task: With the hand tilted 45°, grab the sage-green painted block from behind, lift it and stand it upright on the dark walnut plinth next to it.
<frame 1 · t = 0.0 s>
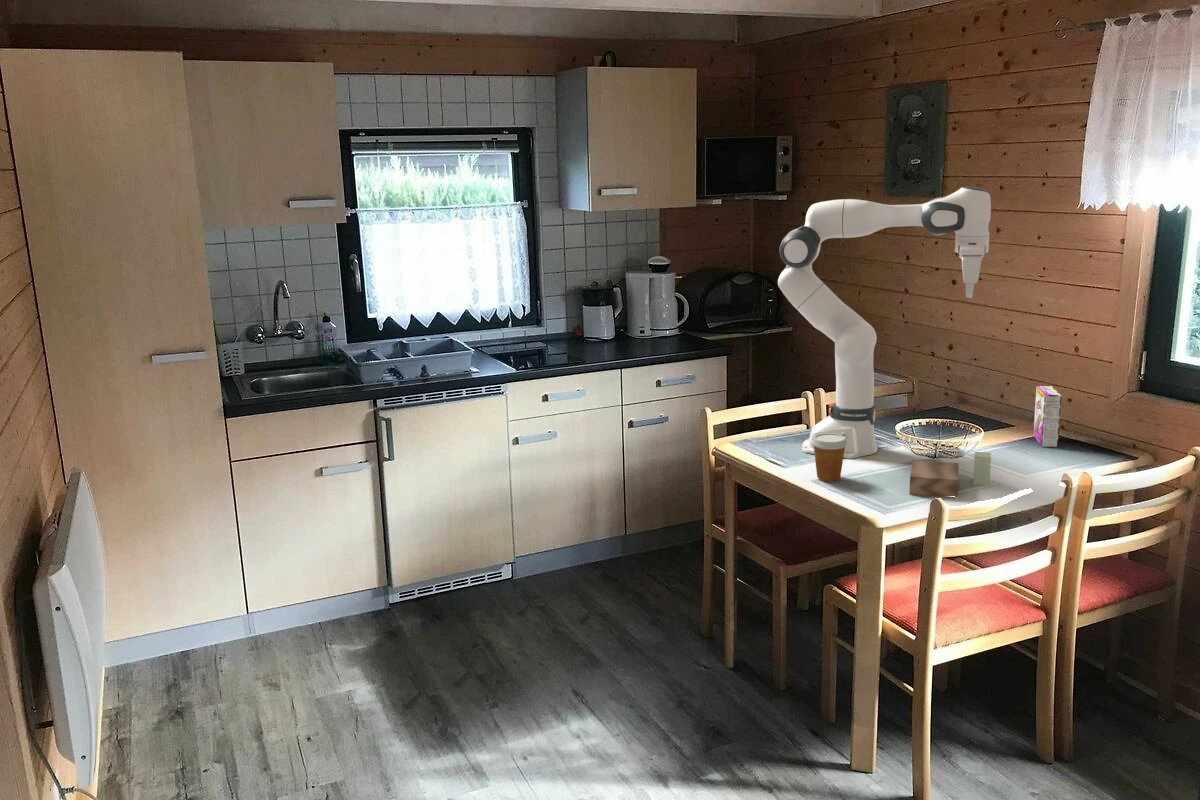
hand: (969, 295, 269), 48 cm above the table, tool pointing down, fingers open, 8 cm apart
candy bar box: (1044, 442, 291), on the table
disposable coffee cup: (828, 479, 267), on the table
sage block: (981, 482, 259), on the table
walnut plinth: (933, 487, 257), on the table
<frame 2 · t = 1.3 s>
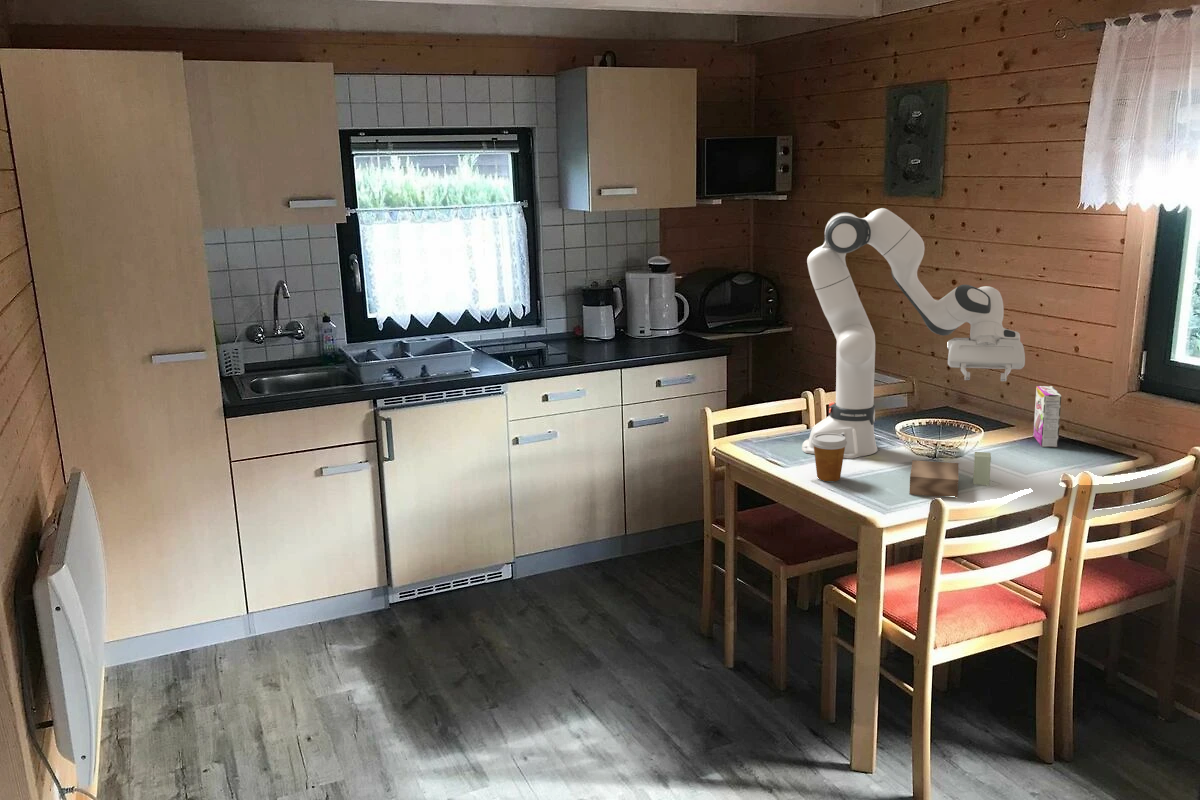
hand: (985, 379, 265), 26 cm above the table, tool tilted 45°, fingers open, 8 cm apart
nothing on the table moved.
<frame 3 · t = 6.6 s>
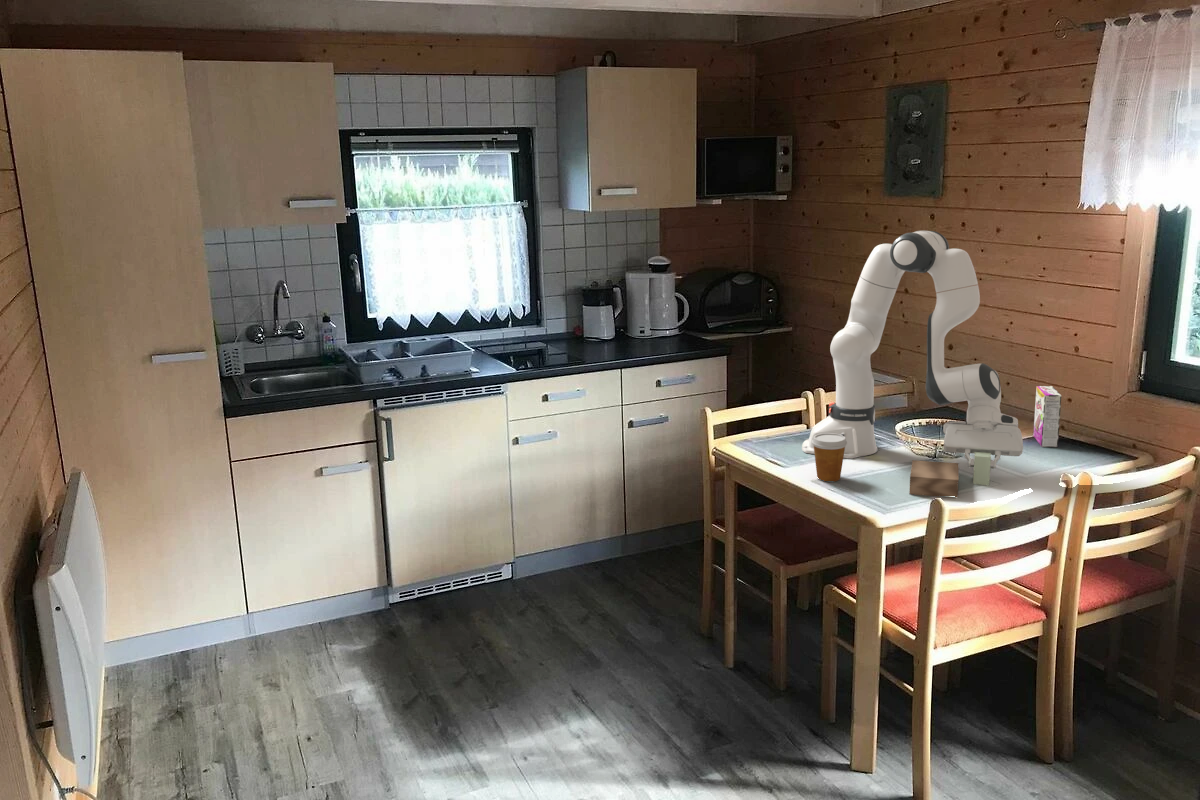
hand: (982, 466, 257), 5 cm above the table, tool tilted 45°, fingers closed on sage block, 4 cm apart
sage block: (981, 482, 259), on the table, touching gripper
everything else where it was.
when the fingers open (11 cm above the table, at t = 11.6 s): sage block drops 1 cm, resting on walnut plinth.
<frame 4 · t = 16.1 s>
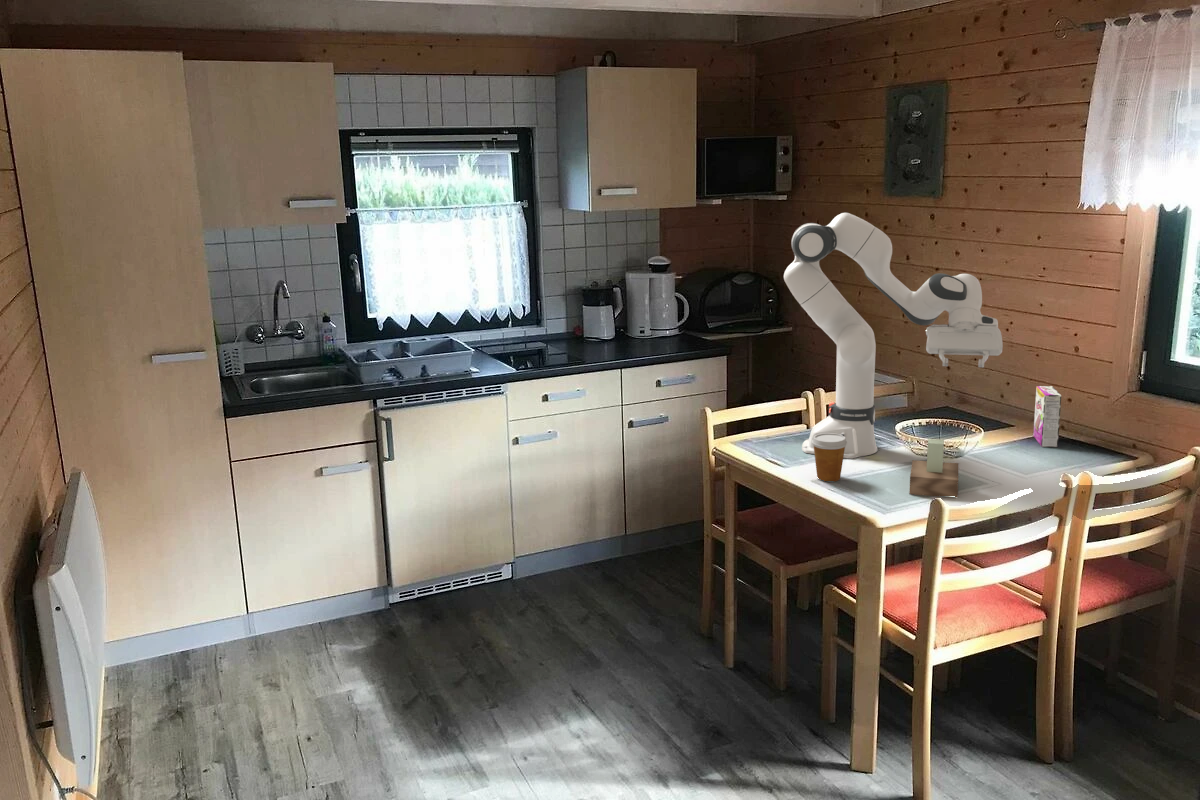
hand: (963, 365, 266), 29 cm above the table, tool tilted 45°, fingers open, 8 cm apart
sage block: (934, 469, 256), point 5 cm above the table, touching walnut plinth
everything else where it was.
at the end: sage block inside the target area on the walnut plinth (0.1 cm from its centre), point 5.0 cm above the walnut plinth's base; sage block tilted 0°; the gripper is holding nothing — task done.
